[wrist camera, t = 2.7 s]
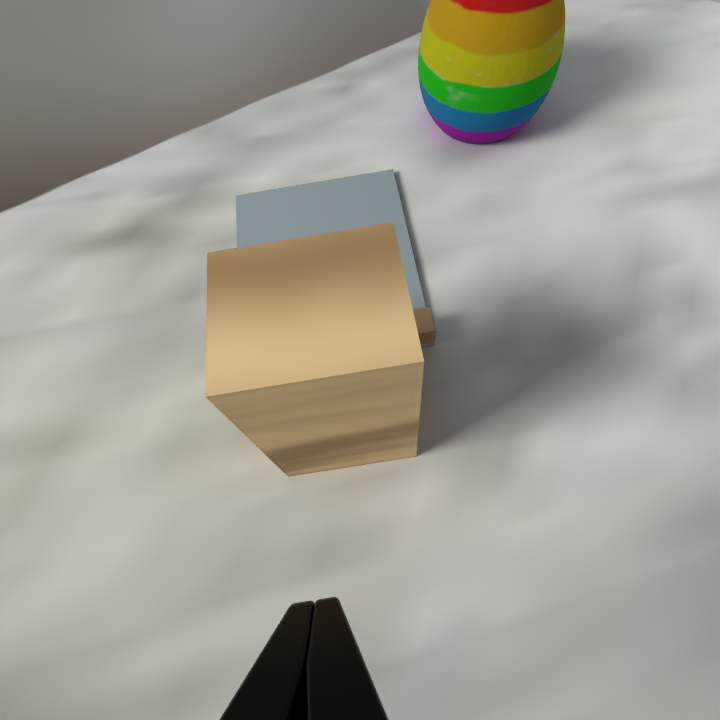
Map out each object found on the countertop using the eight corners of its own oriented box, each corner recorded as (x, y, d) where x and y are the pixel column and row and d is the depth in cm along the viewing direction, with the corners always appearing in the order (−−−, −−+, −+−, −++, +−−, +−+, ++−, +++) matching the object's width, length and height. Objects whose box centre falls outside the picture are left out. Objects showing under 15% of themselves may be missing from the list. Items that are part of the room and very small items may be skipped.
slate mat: (433, 345, 24) (435, 330, 23) (241, 376, 24) (232, 363, 23) (393, 173, 29) (392, 153, 28) (237, 199, 30) (229, 180, 28)
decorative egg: (468, 179, 29) (496, -6, 20) (393, 111, 32) (388, -74, 23) (569, 122, 30) (638, -74, 21) (487, 62, 34) (516, -129, 25)
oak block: (416, 456, 21) (424, 361, 13) (288, 476, 22) (205, 396, 13) (397, 360, 24) (393, 221, 15) (281, 378, 24) (207, 252, 15)
